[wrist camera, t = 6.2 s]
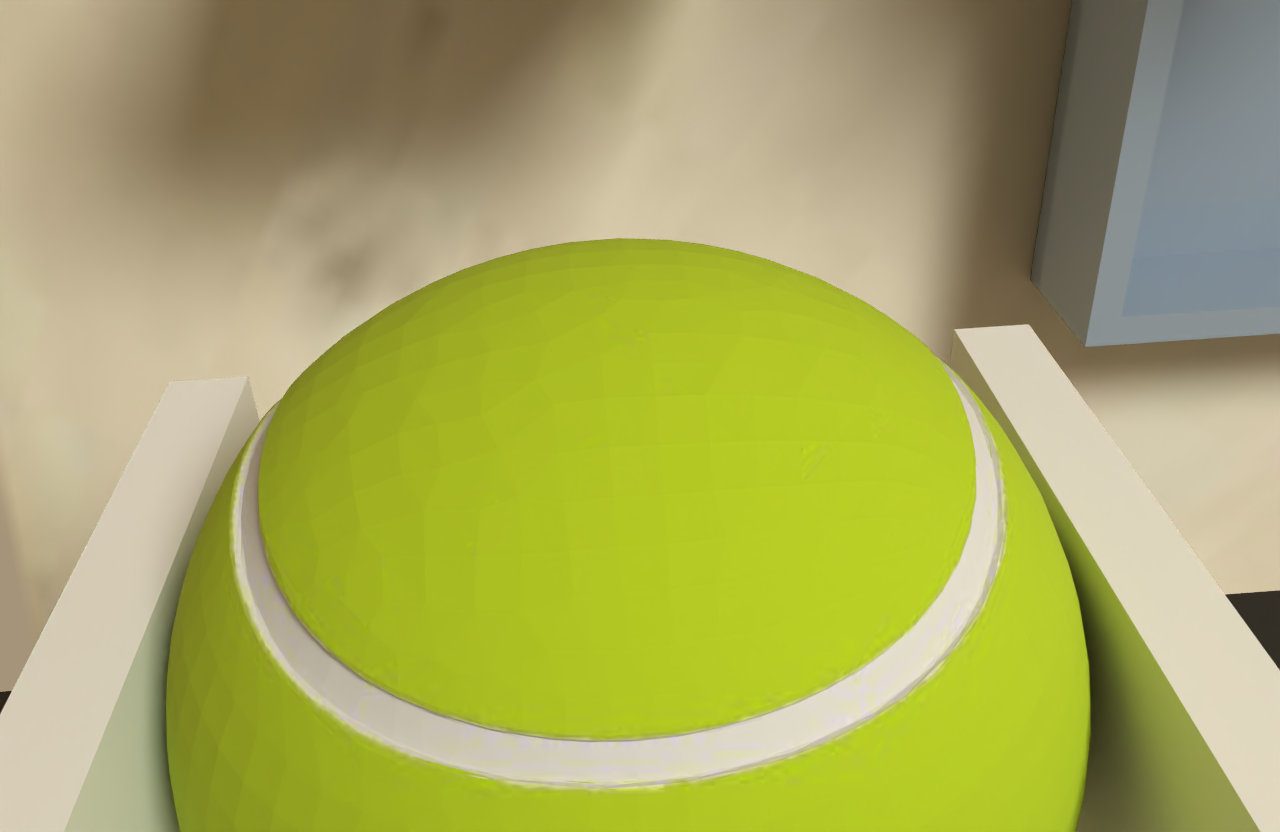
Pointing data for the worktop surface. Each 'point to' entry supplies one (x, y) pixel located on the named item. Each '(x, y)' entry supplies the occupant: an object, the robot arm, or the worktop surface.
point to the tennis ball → (628, 573)
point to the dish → (1165, 173)
